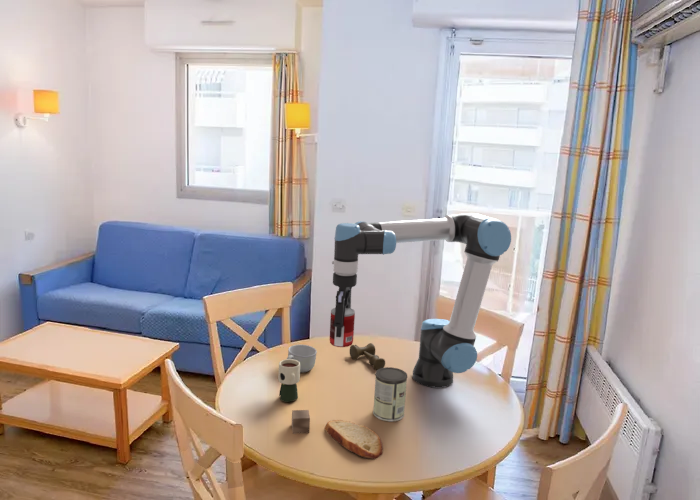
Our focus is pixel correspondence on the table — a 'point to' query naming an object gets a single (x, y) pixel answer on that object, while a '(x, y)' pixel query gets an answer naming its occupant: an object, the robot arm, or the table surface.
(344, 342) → the canned food
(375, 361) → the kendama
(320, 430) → the table surface
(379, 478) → the table surface
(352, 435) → the slice of bread
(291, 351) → the teacup
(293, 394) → the character mug
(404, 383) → the coffee can
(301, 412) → the metal block
